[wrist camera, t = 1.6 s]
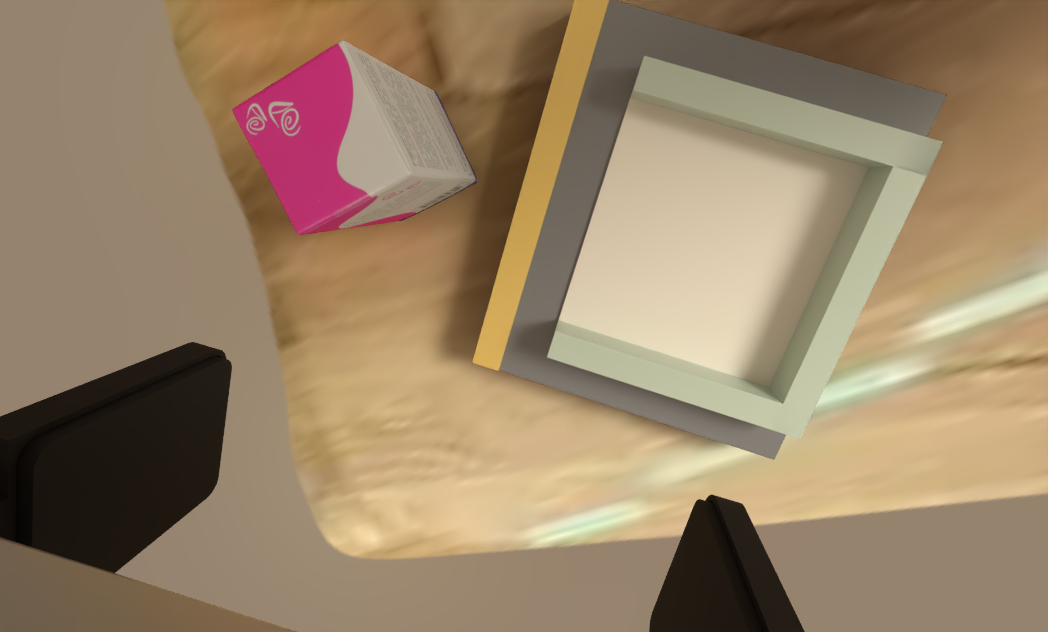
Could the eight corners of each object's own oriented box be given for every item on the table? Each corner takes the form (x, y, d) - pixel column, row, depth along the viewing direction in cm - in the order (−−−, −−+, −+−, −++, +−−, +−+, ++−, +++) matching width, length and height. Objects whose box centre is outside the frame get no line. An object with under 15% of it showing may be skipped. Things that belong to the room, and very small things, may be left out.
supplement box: (434, 86, 31) (345, 33, 20) (480, 182, 32) (419, 181, 21) (351, 133, 32) (224, 107, 21) (397, 224, 33) (298, 244, 22)
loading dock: (579, 8, 29) (576, -30, 24) (911, 103, 28) (984, 85, 23) (483, 346, 34) (462, 376, 29) (759, 435, 33) (789, 483, 28)
